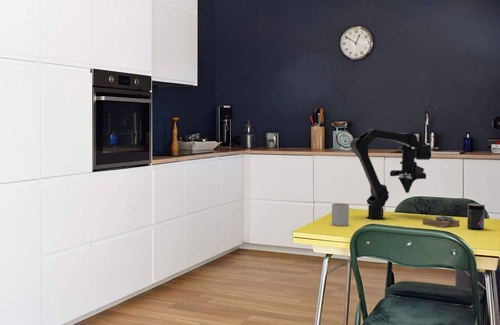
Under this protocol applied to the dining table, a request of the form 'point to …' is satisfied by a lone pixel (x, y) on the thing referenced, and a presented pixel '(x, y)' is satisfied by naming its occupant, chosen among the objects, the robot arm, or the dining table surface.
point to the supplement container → (475, 216)
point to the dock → (441, 223)
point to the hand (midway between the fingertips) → (407, 192)
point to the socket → (443, 218)
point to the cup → (340, 214)
